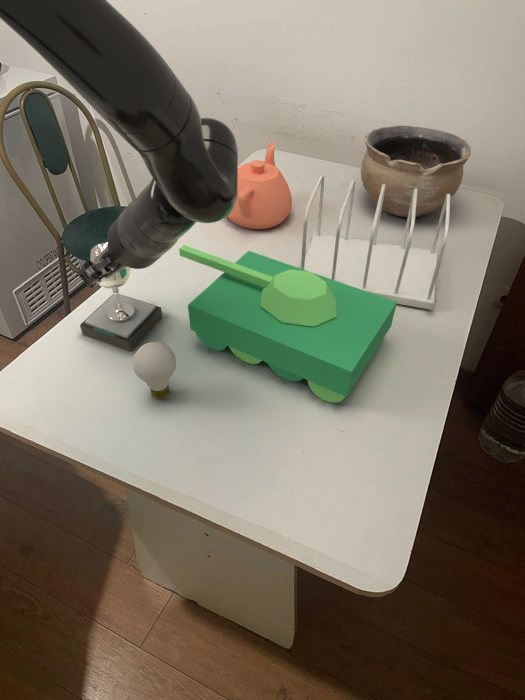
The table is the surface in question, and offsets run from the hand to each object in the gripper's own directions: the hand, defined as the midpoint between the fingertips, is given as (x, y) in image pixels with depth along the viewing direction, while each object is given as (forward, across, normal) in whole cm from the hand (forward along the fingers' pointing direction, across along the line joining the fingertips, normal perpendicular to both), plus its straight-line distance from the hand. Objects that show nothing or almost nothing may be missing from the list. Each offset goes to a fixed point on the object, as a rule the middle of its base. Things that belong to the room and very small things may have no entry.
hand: (105, 272), depth 81 cm
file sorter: (-11, -40, +26) cm, 49 cm away
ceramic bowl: (-7, -68, +22) cm, 72 cm away
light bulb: (-5, +7, +20) cm, 22 cm away
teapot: (+10, -44, +5) cm, 45 cm away
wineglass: (+4, 0, +6) cm, 8 cm away
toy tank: (-8, -14, +24) cm, 29 cm away
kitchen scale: (+6, 0, +8) cm, 10 cm away
